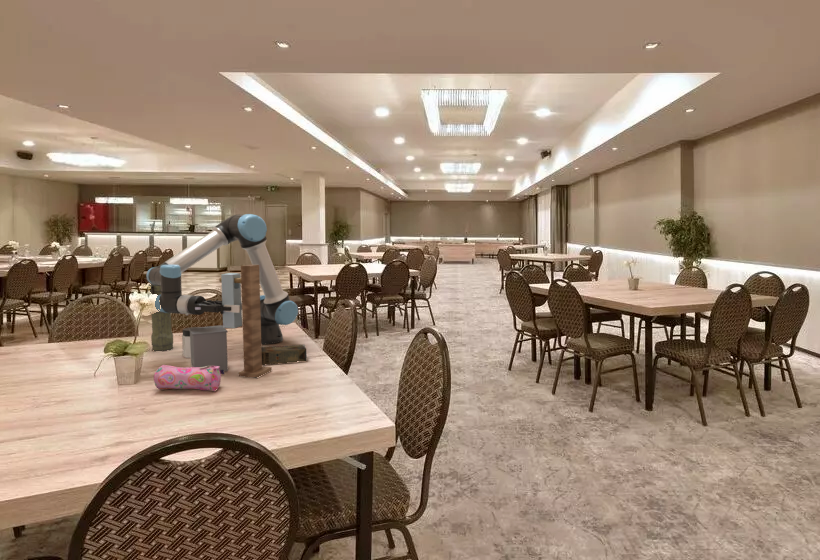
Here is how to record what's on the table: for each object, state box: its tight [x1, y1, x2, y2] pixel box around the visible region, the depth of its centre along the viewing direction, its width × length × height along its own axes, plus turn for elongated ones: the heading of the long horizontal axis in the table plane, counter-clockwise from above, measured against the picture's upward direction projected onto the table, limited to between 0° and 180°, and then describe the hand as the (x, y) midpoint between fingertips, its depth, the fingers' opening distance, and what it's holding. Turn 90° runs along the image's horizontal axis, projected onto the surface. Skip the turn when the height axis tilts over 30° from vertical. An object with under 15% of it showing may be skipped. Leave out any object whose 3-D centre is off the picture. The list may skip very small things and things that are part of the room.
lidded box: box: [188, 324, 229, 372], centre depth 199 cm, size 13×13×16 cm
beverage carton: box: [261, 344, 308, 366], centre depth 211 cm, size 8×19×7 cm, turn 109°
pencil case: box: [153, 364, 225, 392], centre depth 174 cm, size 21×9×9 cm, turn 89°
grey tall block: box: [220, 272, 243, 329], centre depth 194 cm, size 5×5×21 cm
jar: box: [181, 326, 198, 359], centre depth 219 cm, size 9×8×12 cm
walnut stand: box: [218, 263, 273, 378], centre depth 193 cm, size 18×10×42 cm, turn 75°
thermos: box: [146, 282, 174, 352], centre depth 229 cm, size 9×12×35 cm
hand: (243, 307), depth 192 cm, fingers closed on grey tall block, 5 cm apart
